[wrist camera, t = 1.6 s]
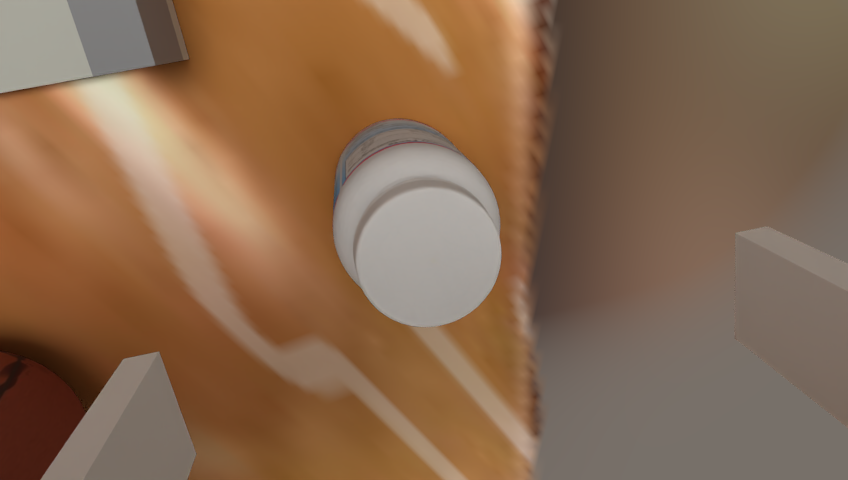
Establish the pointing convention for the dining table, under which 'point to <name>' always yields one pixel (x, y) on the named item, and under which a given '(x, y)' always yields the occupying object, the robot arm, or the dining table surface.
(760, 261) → the robot arm
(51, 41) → the notch board
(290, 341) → the dining table surface
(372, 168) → the pill bottle
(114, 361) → the dining table surface
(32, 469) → the potted plant
